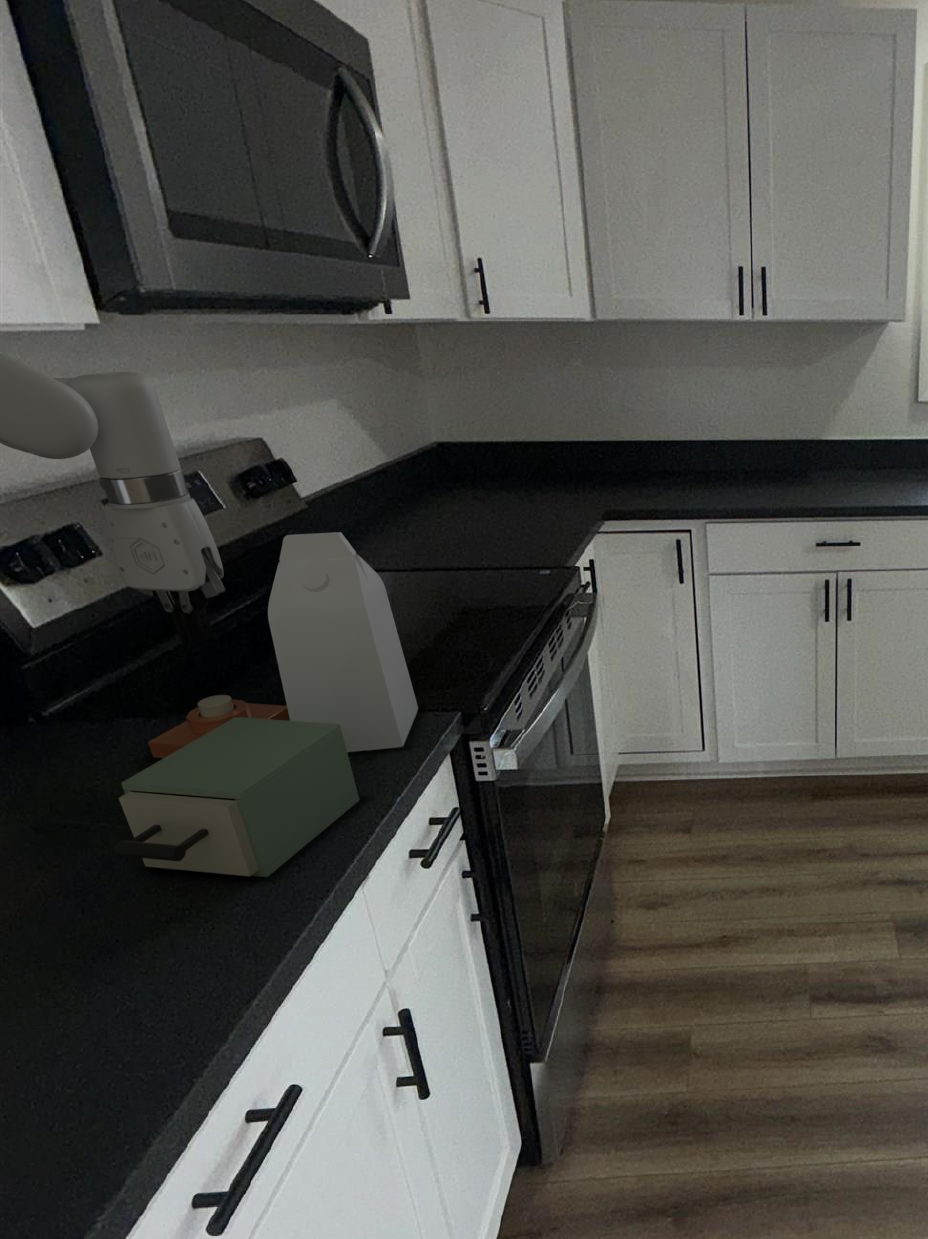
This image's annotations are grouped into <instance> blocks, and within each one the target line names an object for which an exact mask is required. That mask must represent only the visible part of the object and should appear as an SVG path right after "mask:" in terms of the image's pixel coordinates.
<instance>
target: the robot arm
mask: <svg viewBox="0 0 928 1239" xmlns="http://www.w3.org/2000/svg"><path fill="white" fill-rule="evenodd" d="M0 444H1V445H3V446H6V447H8V448H11V449H14V450H18V451H20V452H23V453H27V454H32V455H34V456H37V457H39V458H45V459H49V460H65V459H71V458H75V457H78V456H80V455H82V454H84V453H86V452H87V451H88V450H89V452H90V454H91V456H92V459H93V462H94V465H95V468H96V470H97V473H98V476H99V479H100V480H99V485H100V487H101V489H103V490H104V492H105V496H106V498H107V501H108V503H105V504H104V516H105V523H106V529H107V535H108V538H109V543H110V547H111V549H112V553H113V556H114V559H115V564H116V566H117V569H118V573H119V575H120V577H121V580H122V581H123V583H124V585H126V586H127V587H128V588H131V589H134V590H137V592H139V593H140V594H143V595H146V596H150V597H154V598H155V599H156V600H158V601H159V602H160V603H161V605H162V606H163V609H164V611H165V612H167V613H171V617H172V619H173V622H174V625H175V628H176V631H177V633H178V636H179V639H180V642H181V643H182V645H189V644H190V645H198V644H200V643H203V642H205V641H207V640H208V639H211V638H213V637H214V631H213V628H212V624H211V622H210V619H209V616H208V613H207V610H206V607H208V606H209V600H210V599H211V598H215V597H218V596H220V595H222V594H224V593H225V592H226V588H225V586H224V584H223V582H222V581H221V579H223V578H224V574H225V573H224V566H223V563H222V559H221V556H220V553H219V550H218V547H217V545H216V542H215V540H214V536H213V534H212V532H211V530H210V528H209V525H208V523H207V521H206V518H205V517H204V514H203V513H202V511H201V509H200V507H199V505H198V504H197V501H196V500H195V499H194V498H192V497H191V495H190V491H189V489H188V486H187V482H186V479H185V477H184V473H183V469H182V467H181V464H180V460H179V457H178V455H177V454H178V453H177V451H176V449H175V446H174V442H173V439H172V435H171V432H170V429H169V427H168V423H167V420H166V417H165V415H164V411H163V409H162V404H161V402H160V399H159V394H158V393H157V390H156V387H155V385H154V384H153V382H152V380H151V379H150V378H149V377H147V376H146V375H145V374H142V373H138V372H131V371H129V372H128V371H114V372H113V371H111V372H97V373H96V372H95V373H87V374H81V375H78V376H75V377H51V376H49V375H47V374H45V373H43V372H41V371H39V370H38V369H35V368H33V367H32V366H29V365H27V364H26V363H23V362H21V361H20V360H18V359H15V358H14V357H12V356H10V355H7V354H6V353H4V352H1V351H0Z"/></svg>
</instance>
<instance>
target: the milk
mask: <svg viewBox="0 0 928 1239" xmlns="http://www.w3.org/2000/svg"><path fill="white" fill-rule="evenodd" d="M281 545H282V546H281V548H280V549H281V550H280V555H279V562H278V563H277V568H276V572H275V576H274V580H273V583H272V588H271V590H270V596H269V600H268V605H267V620H268V625H269V629H270V634H271V638H272V642H273V647H274V653H275V657H276V662H277V666H278V672H279V676H280V680H281V685H282V689H283V694H284V698H285V703H286V706H287V708H288V713H289V718H290V721H299V722H314V723H328V724H340V727H341V731H342V735H343V738H344V742H345V746H346V750H347V753H353V752H364V751H375V750H384V749H386V750H387V749H394V748H395V749H396V748H403V747H404V746H405V743H406V740H407V738H408V735H409V733H410V731H411V728H412V726H413V723H414V721H415V718H416V716H417V714H418V710H419V705H418V703H417V698H416V694H415V692H414V688H413V684H412V680H411V677H410V673H409V669H408V666H407V662H406V659H405V655H404V652H403V648H402V644H401V640H400V637H399V633H398V629H397V626H396V623H395V618H394V614H393V611H392V606H391V604H390V600H389V597H388V593H387V589H386V587H385V583H384V581H383V579H382V578H381V576H380V575H379V574H378V572H376V571H375V569H374V570H373V569H372V568H371V567H370V566H369V565H368V564H367V563H366V562H365V561H366V560H364V559H363V557H361V556H360V555H359V554H357V551H356V550H355V549H354V547H353V546H352V545H351V543H350V542H349V540H347V538H346V537H345V535H344V534H343V533H342V531H339V532H338V531H337V532H320V533H319V532H317V533H297V534H286V535H285V536H284V537H283V539H282V544H281Z"/></svg>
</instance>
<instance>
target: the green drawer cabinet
mask: <svg viewBox="0 0 928 1239" xmlns="http://www.w3.org/2000/svg"><path fill="white" fill-rule="evenodd" d="M120 785H121V787H122V789H123V792H124V795H125V794H126V793H128V792H137V793H149V794H150V792H156V793H168V794H180V795H192V796H204V797H216V798H228V799H235V801H237V804H238V807H239V810H240V813H241V816H242V819H243V822H244V825H245V828H246V831H247V834H248V837H249V840H250V843H251V846H252V849H253V852H254V855H255V858H256V861H257V865H258V868H259V870H258V871H256V872H255V873H254V874H253V875H251V876H250V877H260V878H261V877H262V878H268V877H270V876H271V875H272V874H273V873H274V872H276V871H277V870H278V869H279V868H280V867H282V865H284V864H285V863H286V862H287V861H289V860H290V859H291V858H292V857H293V856H295V855H296V854H297V853H299V851H301V850H302V849H303V848H304V847H306V846H307V845H308V844H309V843H311V842H312V841H313V840H314V839H315V838H316V837H317V836H319V835H320V834H321V833H322V832H324V831H326V829H327V828H328V827H329V826H331V825H332V824H333V823H334V822H335V821H337V820H338V819H340V817H342V816H343V815H344V814H345V813H346V812H348V811H349V810H350V809H351V808H352V807H353V806H355V805H356V804H357V803H358V802H360V796H359V793H358V789H357V785H356V782H355V777H354V773H353V769H352V766H351V761H350V757H349V754H348V752H347V750H346V746H345V742H344V738H343V735H342V731H341V727H340V724H328V723H314V722H299V721H285V720H270V719H256V718H242V717H234V718H233V719H231V720H229V721H227V722H226V723H224V724H222V725H221V726H219V727H217V728H215V729H214V730H212V731H210V732H208V733H207V734H205V735H203V736H201V737H200V738H198V739H196V740H195V741H193V742H191V743H189V744H188V745H186V746H184V747H182V748H181V749H179V750H177V751H176V752H174V753H172V754H170V755H169V756H167V757H165V758H161V759H160V760H158V761H156V762H154V763H153V764H151V765H150V766H148V767H146V768H144V769H143V770H141V771H139V772H137V773H136V774H133V775H132V776H130V777H128V778H127V779H125V780H124V781H122V782H121V783H120Z"/></svg>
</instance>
